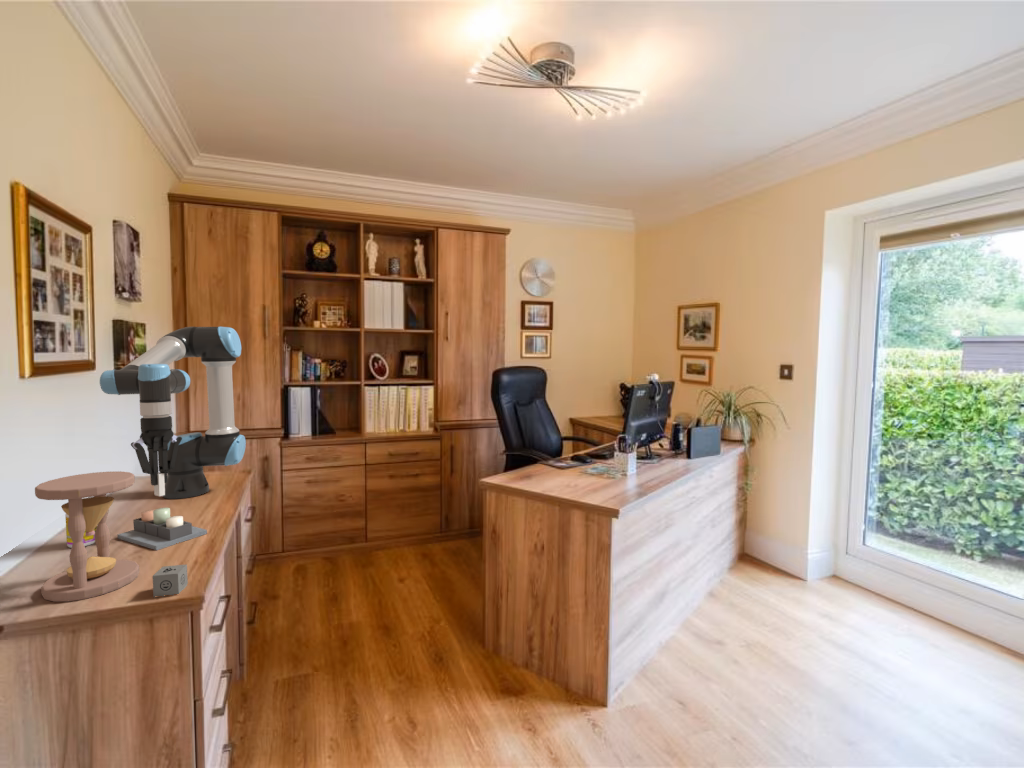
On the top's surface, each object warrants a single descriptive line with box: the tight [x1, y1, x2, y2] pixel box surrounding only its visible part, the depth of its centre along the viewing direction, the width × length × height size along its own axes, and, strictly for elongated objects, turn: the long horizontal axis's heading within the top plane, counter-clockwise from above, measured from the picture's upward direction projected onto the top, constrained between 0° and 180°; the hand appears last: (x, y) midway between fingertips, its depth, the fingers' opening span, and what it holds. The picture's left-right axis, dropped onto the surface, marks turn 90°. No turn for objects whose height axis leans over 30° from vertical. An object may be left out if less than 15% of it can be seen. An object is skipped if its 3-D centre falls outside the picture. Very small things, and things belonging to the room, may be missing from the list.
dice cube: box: [152, 564, 189, 598], centre depth 113 cm, size 5×5×5 cm
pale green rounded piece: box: [153, 507, 171, 525], centre depth 147 cm, size 4×4×4 cm
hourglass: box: [34, 470, 140, 603], centre depth 116 cm, size 18×18×25 cm
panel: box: [117, 517, 208, 551], centre depth 147 cm, size 14×20×4 cm
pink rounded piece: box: [140, 509, 155, 522], centre depth 149 cm, size 4×4×4 cm
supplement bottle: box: [65, 498, 97, 549], centre depth 140 cm, size 7×7×13 cm
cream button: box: [166, 515, 184, 529], centre depth 144 cm, size 4×4×4 cm
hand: (159, 495), depth 146 cm, fingers closed
